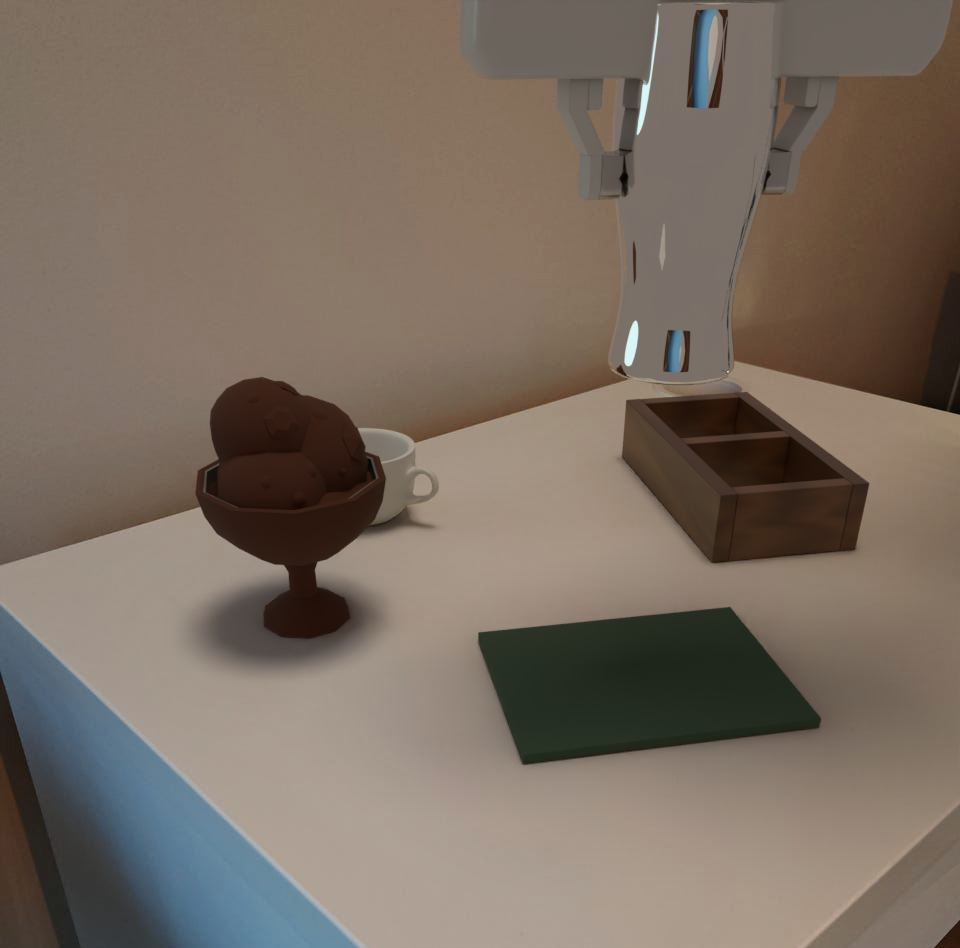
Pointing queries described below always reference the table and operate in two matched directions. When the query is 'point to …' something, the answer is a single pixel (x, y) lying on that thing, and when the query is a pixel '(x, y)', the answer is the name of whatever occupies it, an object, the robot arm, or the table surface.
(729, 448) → the divided wooden box
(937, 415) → the table surface
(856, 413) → the table surface
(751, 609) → the table surface
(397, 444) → the teacup
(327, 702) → the table surface
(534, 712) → the mat
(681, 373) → the beer glass
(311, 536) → the ice cream bowl
